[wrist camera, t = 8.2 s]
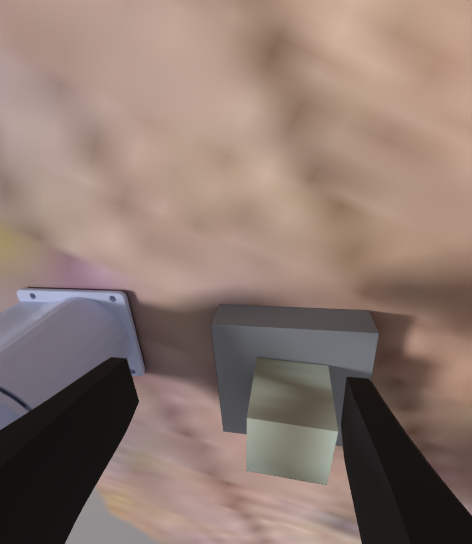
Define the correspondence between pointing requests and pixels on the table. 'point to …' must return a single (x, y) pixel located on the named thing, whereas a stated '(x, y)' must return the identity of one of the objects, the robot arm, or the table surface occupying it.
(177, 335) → the table surface
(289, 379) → the green cube
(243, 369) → the grey base block
